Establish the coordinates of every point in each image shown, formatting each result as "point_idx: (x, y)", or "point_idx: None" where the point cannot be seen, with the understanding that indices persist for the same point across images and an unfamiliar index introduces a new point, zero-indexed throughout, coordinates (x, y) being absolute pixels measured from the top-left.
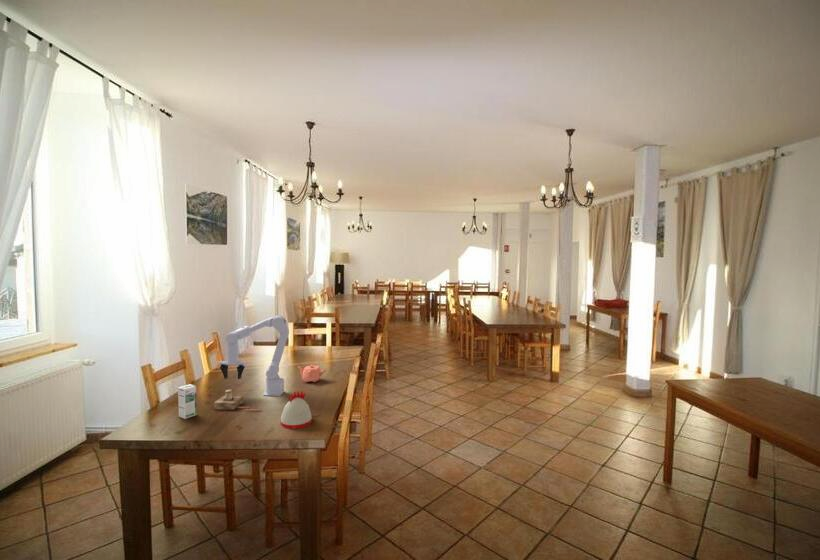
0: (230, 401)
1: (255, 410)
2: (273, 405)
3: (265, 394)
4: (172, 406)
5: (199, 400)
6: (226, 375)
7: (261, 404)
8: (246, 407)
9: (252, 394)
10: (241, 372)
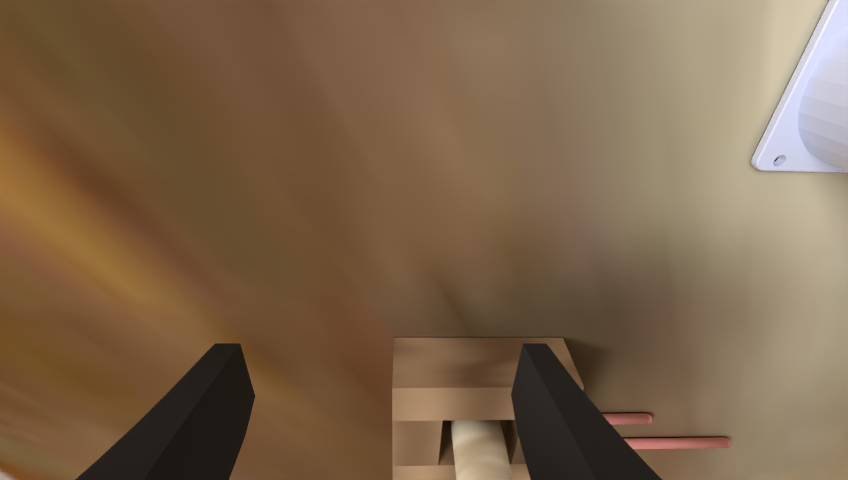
0: (512, 471)
1: (685, 446)
2: (816, 364)
3: (786, 162)
4: (47, 424)
5: (135, 321)
6: (223, 420)
7: (722, 355)
8: (619, 424)
9: (613, 127)
10: (610, 462)
